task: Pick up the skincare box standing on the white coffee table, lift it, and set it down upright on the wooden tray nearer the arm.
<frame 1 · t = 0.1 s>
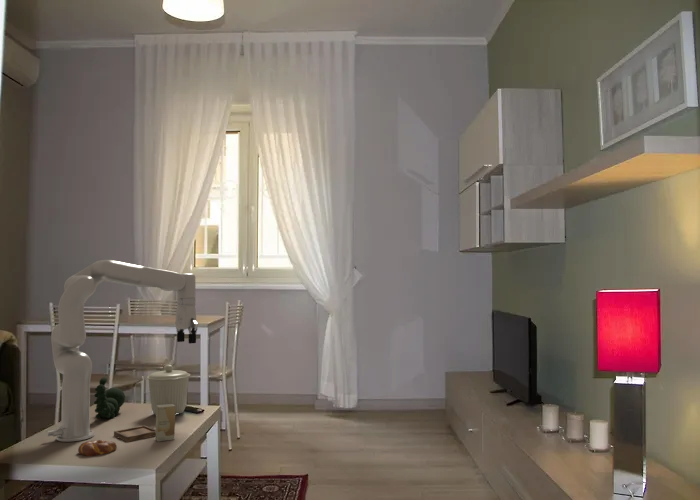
hand: (186, 342, 247), 31 cm above the table, tool pointing down, fingers open, 9 cm apart
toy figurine: (109, 416, 248), on the table
pretzel: (97, 452, 197), on the table
canister: (168, 414, 251), on the table
skincare box: (165, 439, 210), on the table
wooden tray: (136, 435, 216), on the table
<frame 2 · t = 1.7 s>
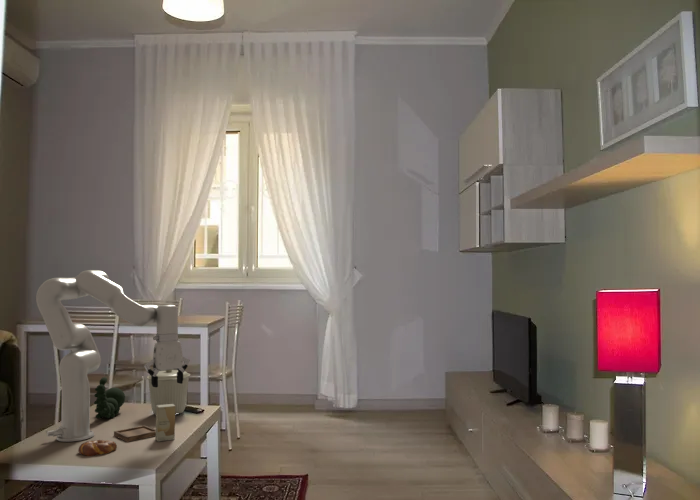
hand: (167, 385, 214), 19 cm above the table, tool pointing down, fingers open, 9 cm apart
nothing on the table moved.
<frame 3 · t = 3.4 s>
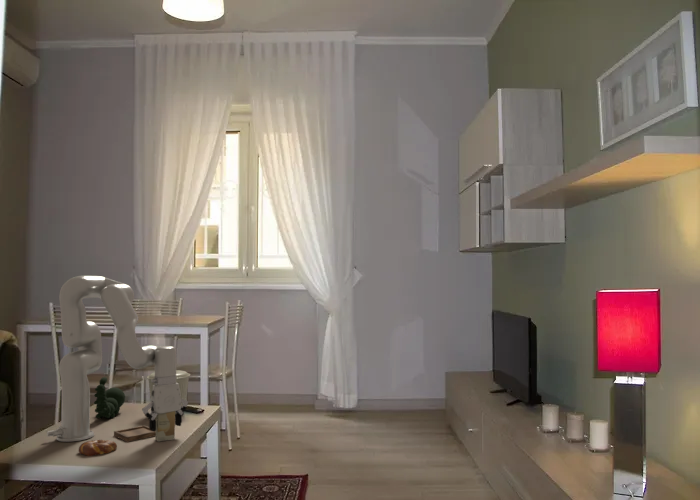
hand: (165, 428, 211), 4 cm above the table, tool pointing down, fingers open, 9 cm apart
nothing on the table moved.
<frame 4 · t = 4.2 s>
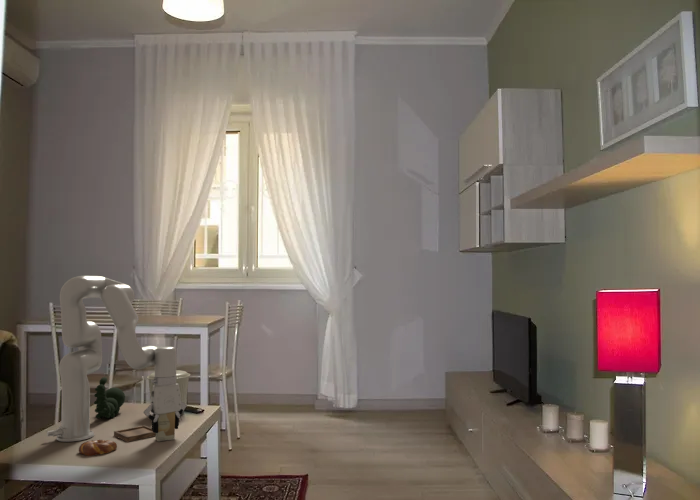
hand: (165, 430, 211), 3 cm above the table, tool pointing down, fingers closed on skincare box, 7 cm apart
skincare box: (165, 439, 210), on the table, touching gripper
everything else where it was.
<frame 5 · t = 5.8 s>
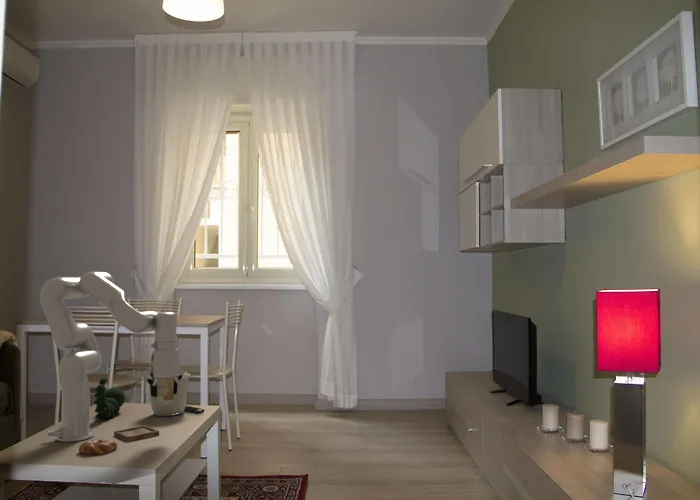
hand: (164, 394, 211), 16 cm above the table, tool pointing down, fingers closed on skincare box, 7 cm apart
skincare box: (163, 404, 211), point 12 cm above the table, touching gripper
everything else where it was.
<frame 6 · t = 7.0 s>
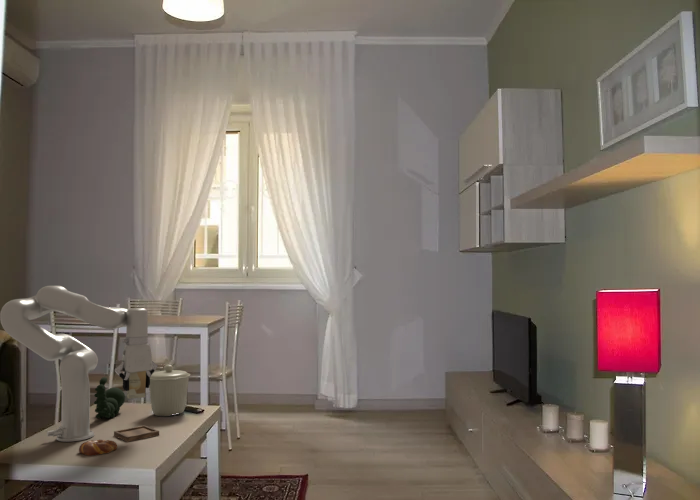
hand: (136, 388, 217), 17 cm above the table, tool pointing down, fingers closed on skincare box, 7 cm apart
skincare box: (136, 397, 217), point 14 cm above the table, touching gripper
everything else where it was.
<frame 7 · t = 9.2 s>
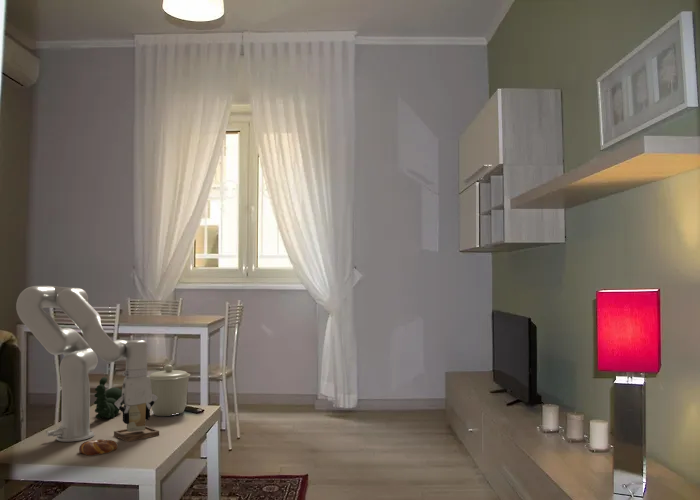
hand: (136, 421, 217), 5 cm above the table, tool pointing down, fingers closed on skincare box, 7 cm apart
skincare box: (136, 430, 216), point 2 cm above the table, touching gripper
everything else where it was.
when the fingers open (5 cm above the table, at t = 10.1 s): skincare box stays where it is, resting on wooden tray.
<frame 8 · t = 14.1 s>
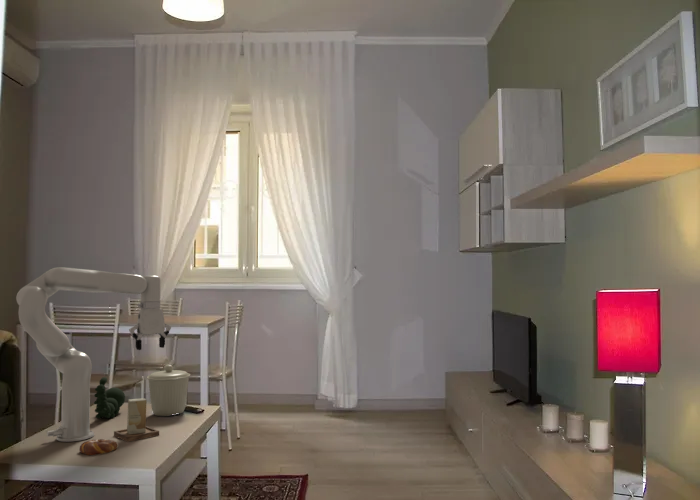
hand: (150, 348, 234), 30 cm above the table, tool pointing down, fingers open, 9 cm apart
skincare box: (136, 433, 217), point 1 cm above the table, touching wooden tray
at the end: skincare box inside the target area on the wooden tray (0.2 cm from its centre), point 0.8 cm above the wooden tray's base; skincare box tilted 0°; the gripper is holding nothing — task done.
